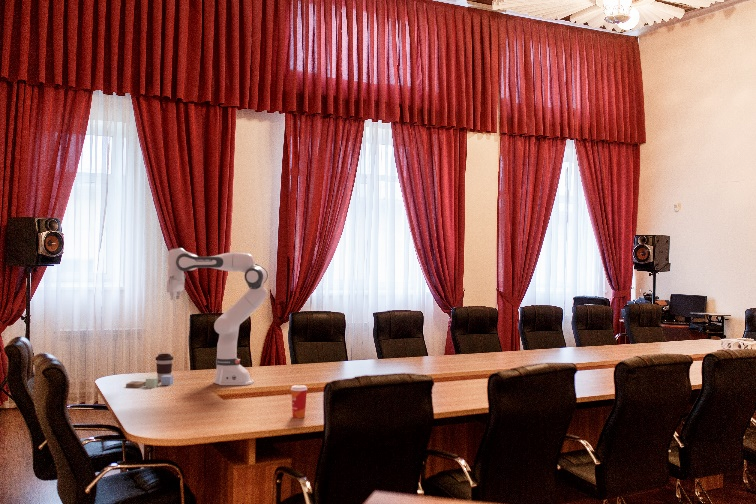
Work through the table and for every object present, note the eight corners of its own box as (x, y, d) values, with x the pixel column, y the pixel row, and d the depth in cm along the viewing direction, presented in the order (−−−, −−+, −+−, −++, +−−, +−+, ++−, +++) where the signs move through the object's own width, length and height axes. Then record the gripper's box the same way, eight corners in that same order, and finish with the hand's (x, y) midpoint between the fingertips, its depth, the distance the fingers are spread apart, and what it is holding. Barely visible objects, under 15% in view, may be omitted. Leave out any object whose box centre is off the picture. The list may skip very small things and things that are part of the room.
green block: (157, 386, 387) (158, 377, 387) (154, 387, 382) (154, 378, 382) (149, 386, 388) (149, 377, 388) (145, 387, 383) (145, 378, 383)
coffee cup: (167, 381, 400) (168, 355, 400) (151, 380, 402) (152, 355, 402) (175, 378, 410) (176, 353, 410) (160, 378, 412) (161, 352, 412)
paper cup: (290, 414, 323) (291, 384, 323) (307, 414, 324) (307, 384, 324) (289, 418, 315) (290, 388, 315) (306, 418, 316) (307, 388, 316)
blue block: (172, 384, 394) (173, 375, 394) (169, 385, 389) (169, 376, 389) (164, 383, 394) (164, 375, 394) (161, 385, 389) (161, 376, 389)
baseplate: (145, 385, 389) (145, 381, 389) (140, 387, 381) (140, 384, 381) (132, 384, 390) (132, 381, 390) (125, 387, 382) (126, 383, 382)
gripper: (175, 276, 392) (174, 300, 392) (186, 275, 412) (186, 298, 412) (164, 276, 392) (163, 300, 392) (176, 275, 413) (175, 298, 413)
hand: (175, 299), depth 402 cm, fingers open, 8 cm apart
